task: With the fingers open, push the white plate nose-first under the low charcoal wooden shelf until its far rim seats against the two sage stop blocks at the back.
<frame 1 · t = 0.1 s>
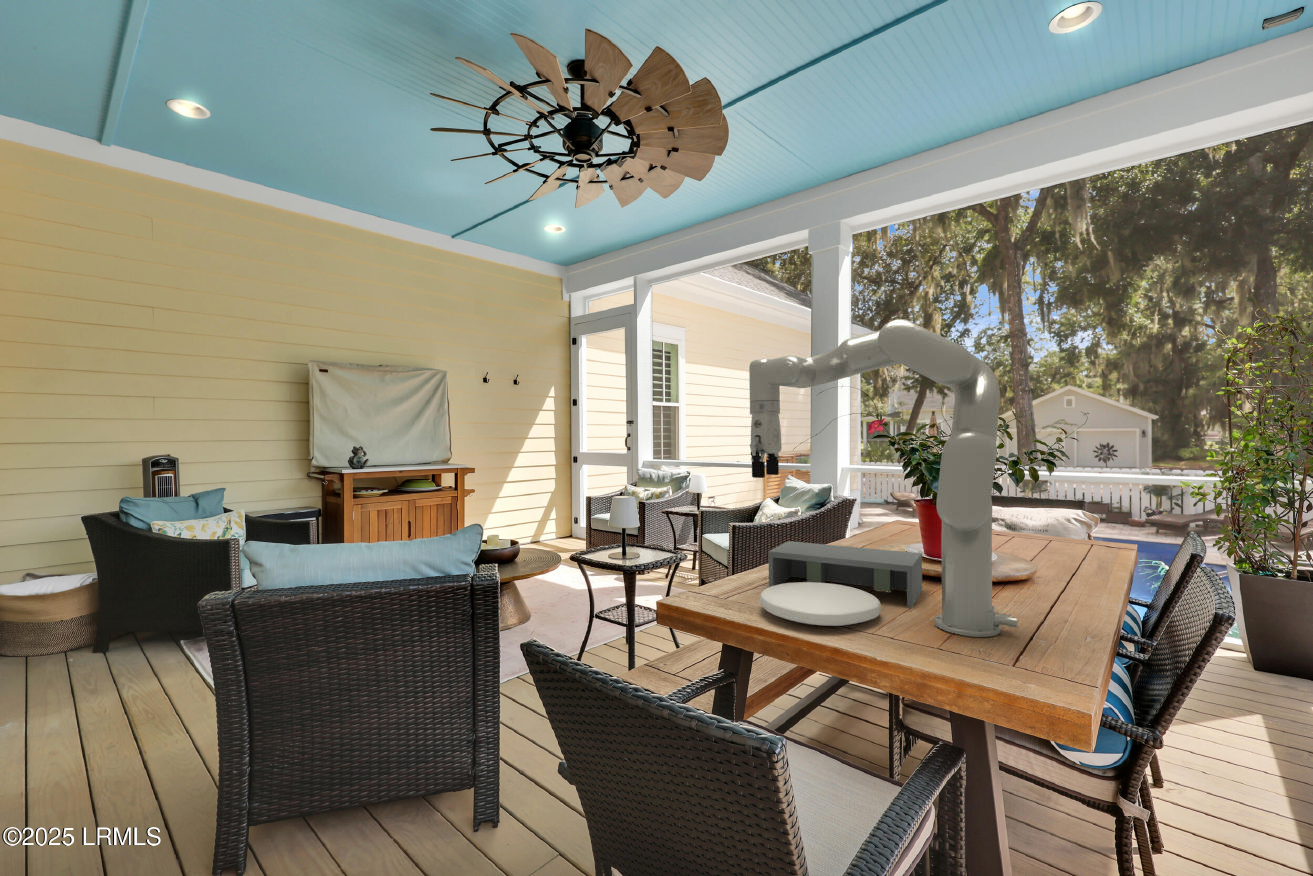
hand: (765, 476, 148), 31 cm above the table, tool pointing down, fingers open, 9 cm apart
shelf: (844, 589, 155), on the table
plate: (819, 615, 136), on the table
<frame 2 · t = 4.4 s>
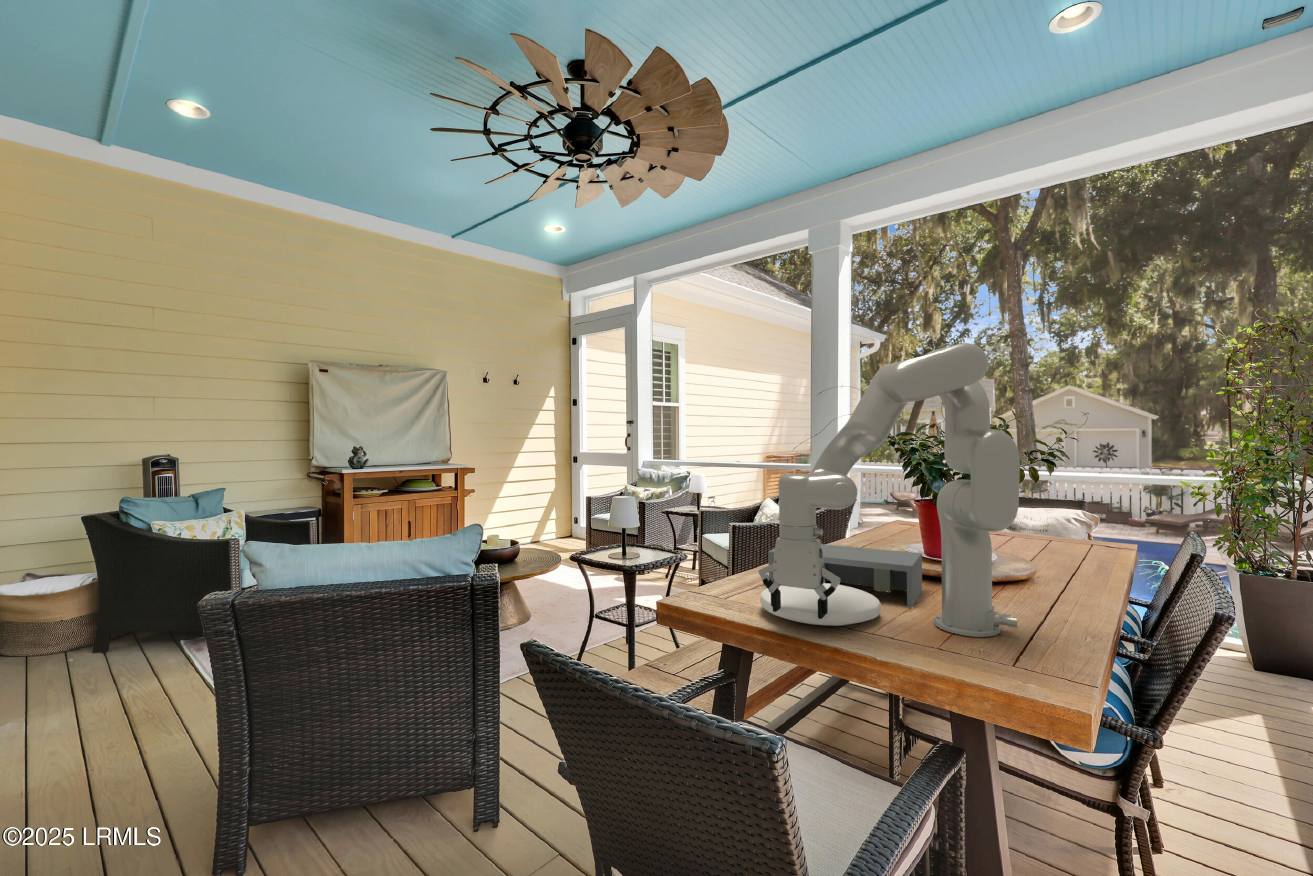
hand: (798, 613, 123), 4 cm above the table, tool pointing down, fingers open, 9 cm apart
plate: (819, 615, 136), on the table, touching gripper
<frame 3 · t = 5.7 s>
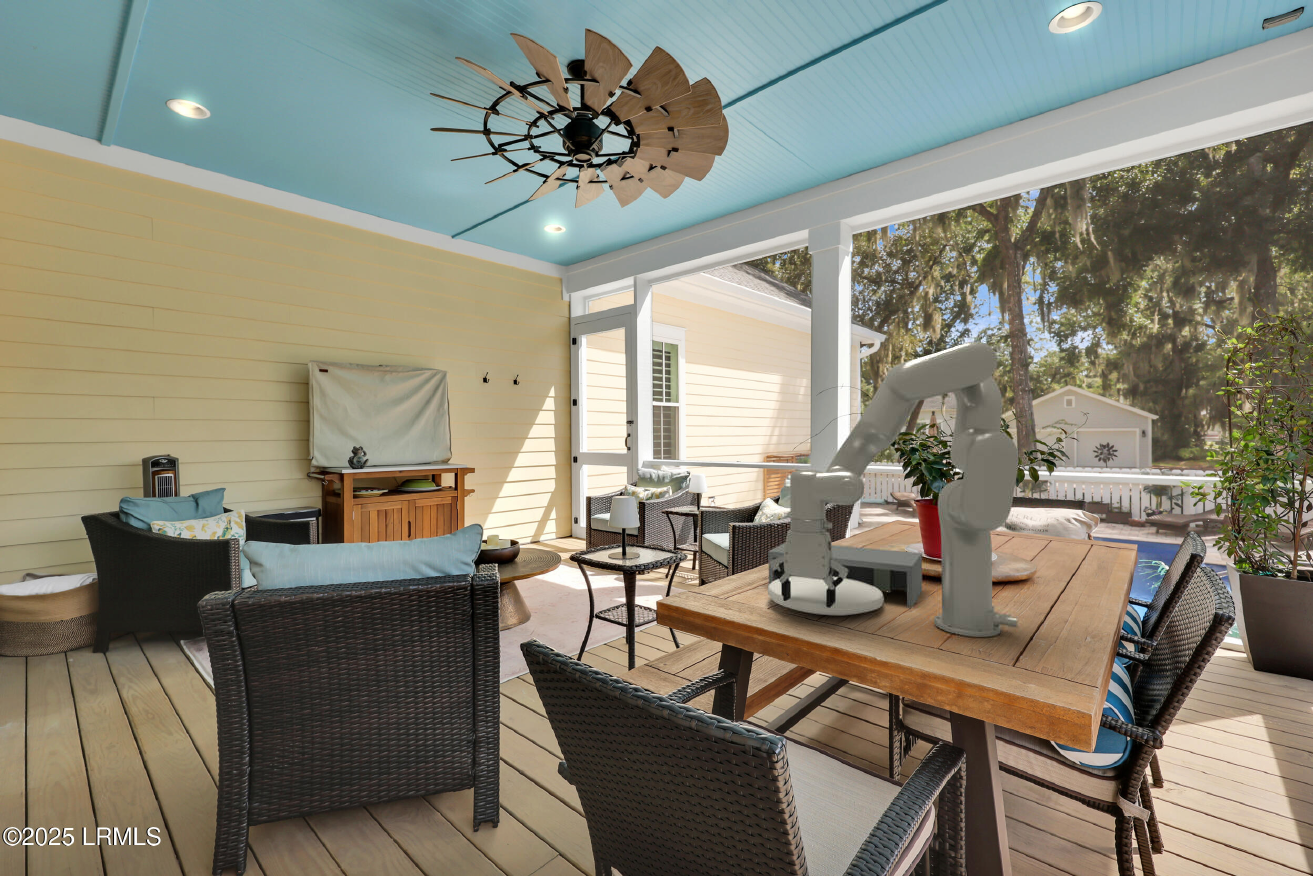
hand: (808, 602, 130), 4 cm above the table, tool pointing down
plate: (824, 606, 142), on the table, touching gripper
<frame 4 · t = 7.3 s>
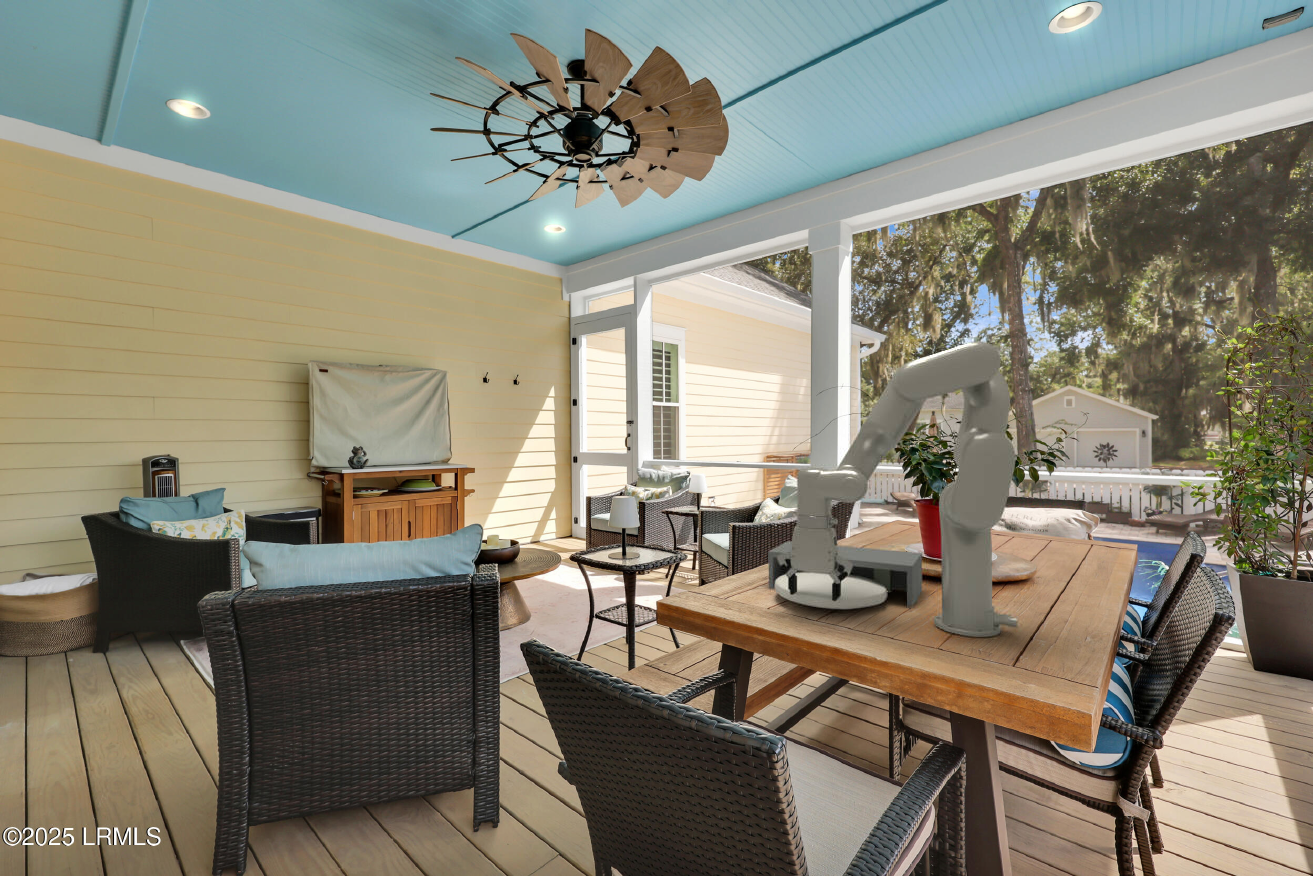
hand: (814, 596, 134), 5 cm above the table, tool pointing down
plate: (829, 601, 147), on the table, touching gripper
when the fingers open (4 cm above the table, at t = 8.1 s): plate stays where it is, on the table.
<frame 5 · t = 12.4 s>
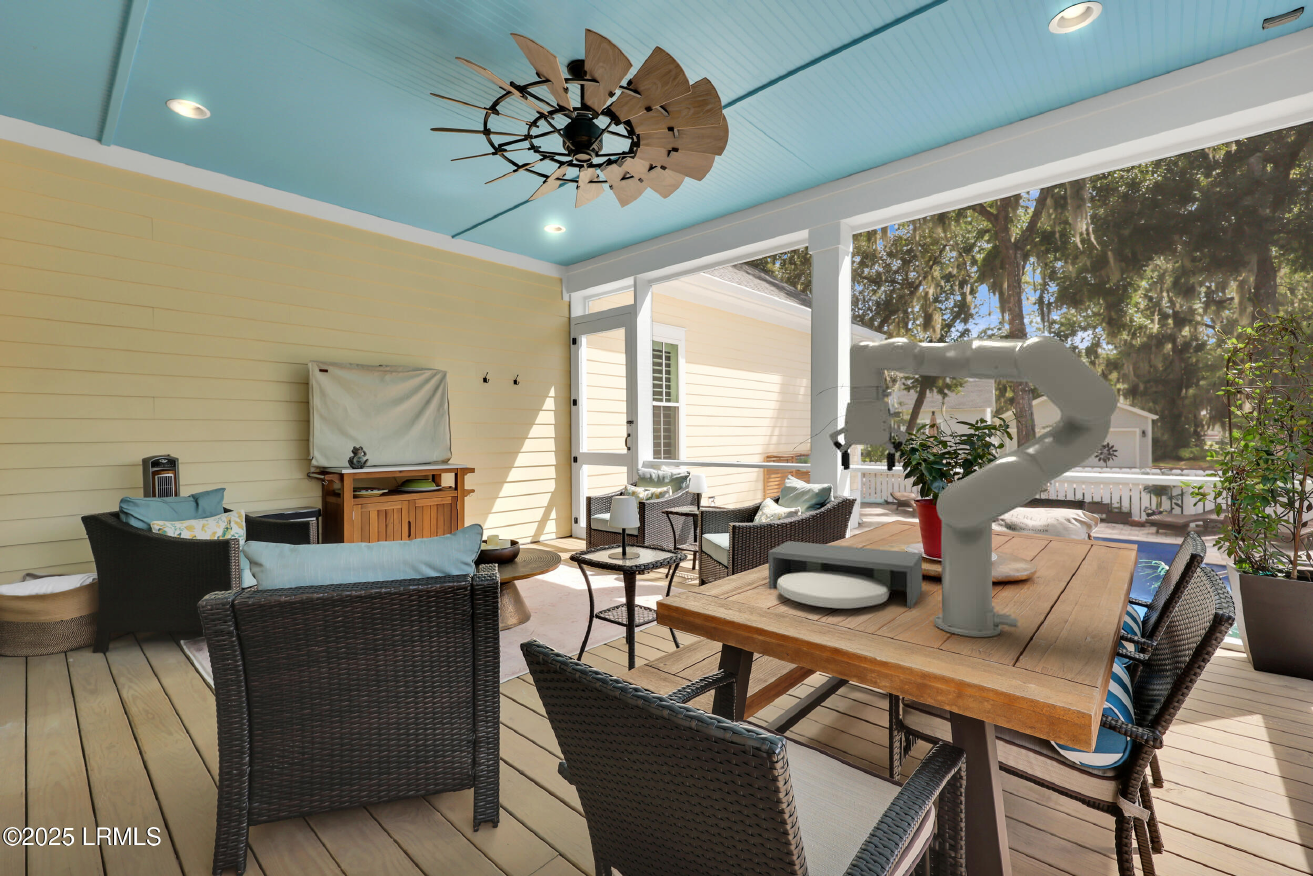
hand: (867, 470, 135), 33 cm above the table, tool pointing down, fingers open, 9 cm apart
plate: (831, 600, 147), on the table
at the end: plate inside the target area (1.9 cm from its centre), on the table; plate tilted 2° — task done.
